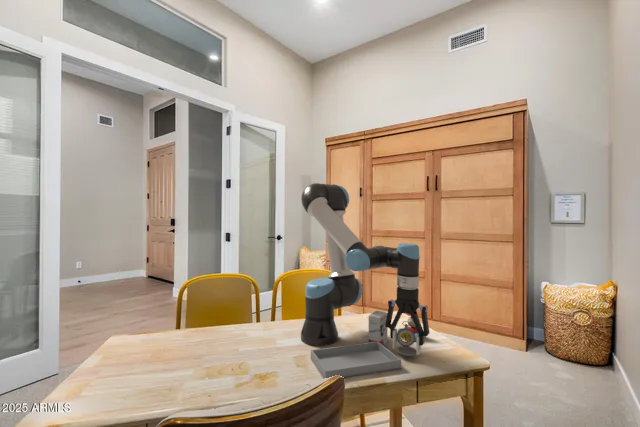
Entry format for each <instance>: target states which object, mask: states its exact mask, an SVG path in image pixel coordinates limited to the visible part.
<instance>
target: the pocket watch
mask: <svg viewBox="0 0 640 427" xmlns="http://www.w3.org/2000/svg"><path fill="white" fill-rule="evenodd" d="M404 323H405V324H404ZM408 323H409V322H407V320H405V321H402V326H404V327H405V328H404V327H402V328H401V329H400V330H399V331H398V330H397V336H396V337H397V344H399V345H400V346H398V348H397V352H398V353H399V354H400V355H401V356H402V355H403V356H405V357H414V356H417V355H416V349H415V348H413V347H411V346H412V345H413V344H414V343H415V342H416V341H415V334H414V332H413V331H412V330H411V329H408V328H407V326H409V325H410V323H409V325H408ZM409 327H410V326H409ZM408 335H410V336H411V337H410V336H408ZM409 338H410V339H409Z"/></svg>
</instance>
